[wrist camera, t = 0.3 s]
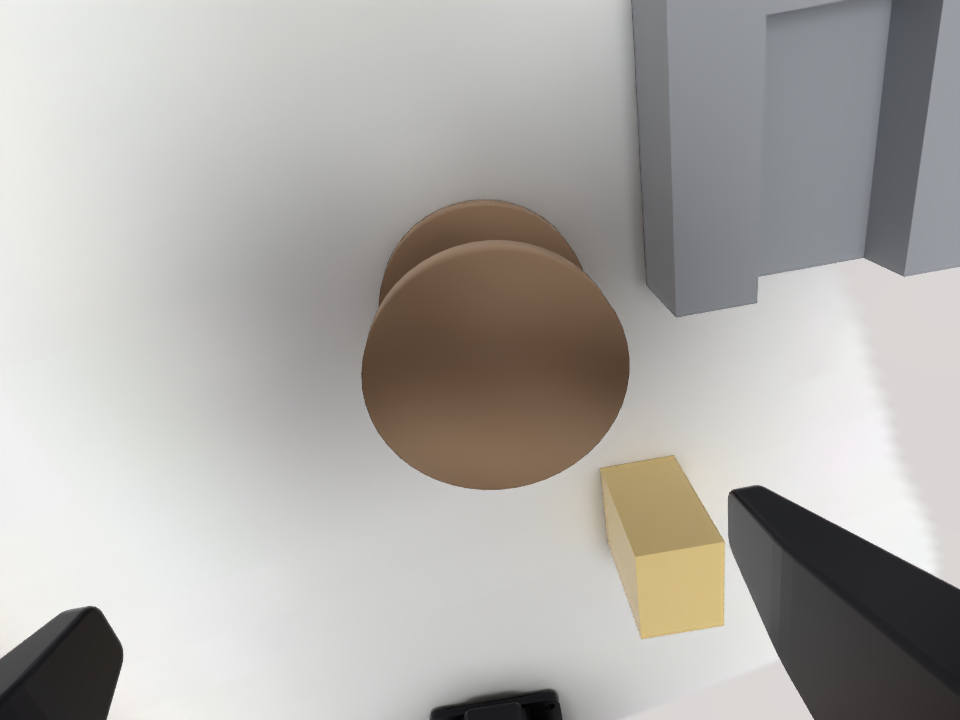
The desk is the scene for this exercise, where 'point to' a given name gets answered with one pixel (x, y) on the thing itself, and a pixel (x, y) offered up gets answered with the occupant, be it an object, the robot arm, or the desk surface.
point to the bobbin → (491, 350)
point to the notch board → (794, 140)
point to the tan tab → (663, 547)
